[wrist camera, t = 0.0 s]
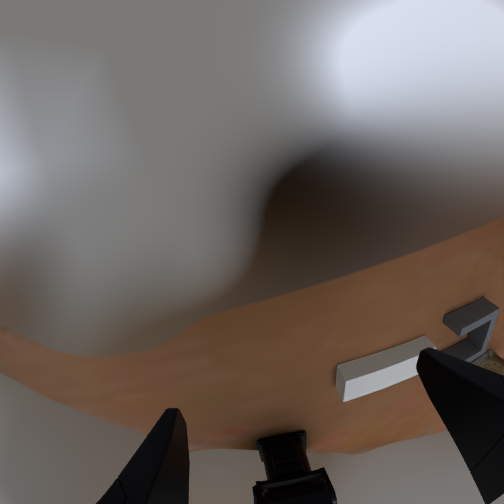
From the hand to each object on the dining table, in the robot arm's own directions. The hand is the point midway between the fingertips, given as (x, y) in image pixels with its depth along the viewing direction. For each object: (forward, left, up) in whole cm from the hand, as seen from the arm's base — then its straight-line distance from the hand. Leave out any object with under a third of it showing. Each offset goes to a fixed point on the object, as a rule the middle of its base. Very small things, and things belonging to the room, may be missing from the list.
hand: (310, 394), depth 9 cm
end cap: (-16, -26, -15) cm, 33 cm away
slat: (-16, -13, -15) cm, 25 cm away
